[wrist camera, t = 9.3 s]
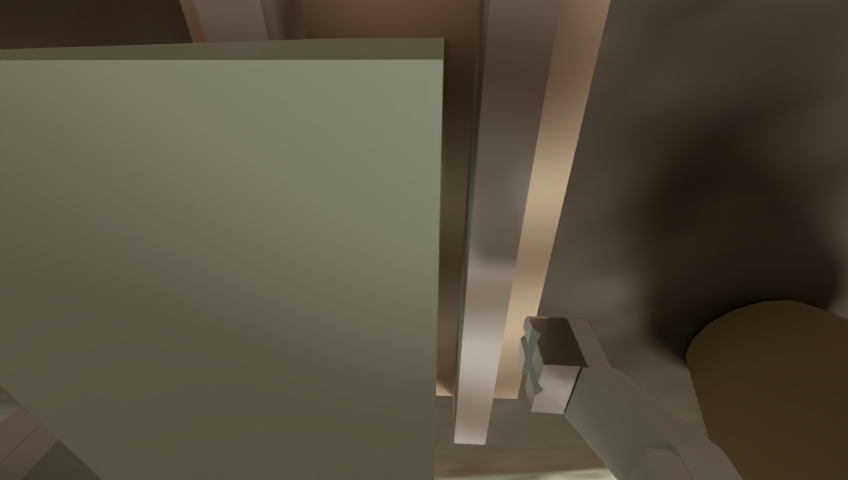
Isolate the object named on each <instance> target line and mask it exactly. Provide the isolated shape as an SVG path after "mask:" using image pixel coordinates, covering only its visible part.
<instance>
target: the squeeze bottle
mask: <svg viewBox="0 0 848 480" xmlns="http://www.w3.org/2000/svg"><path fill="white" fill-rule="evenodd" d="M686 359H687V364H688V368H689V371H690V375H691V378H692V382H693V385H694V389H695V392H696V396H697V399H698V402H699V406H700V409H701V413H702V416H703V420H704V423H705V427H706V430H707V433H708V437H709V440H710V441H711V442H713V443H714V444H715V445H717V446H718V447H719V448H721V449H722V450H723V451H724V452H725V454H726V455H727V457H728V458H729V460H730V461H731V463H732V464H733V466H734V467H735V469H736V470H737V472H738V473H739V475H740V476H741V478H742V479H743V480H848V319H845V318H843V317H840V316H837V315H835V314H832V313H830V312H827V311H824V310H822V309H819V308H816V307H814V306H810V305H807V304H804V303H800V302H797V301H793V300H784V301H763V302H760V303H756V304H753V305H749V306H746V307H742V308H739V309H735V310H733V311H731V312H729V313H727V314H725V315H724V316H722V317H720V318H718V319H716V320H714V321H712V322H711V323H709V324H708V325H707V326H706V327H705V328H704V329H703V330H702V331H700V332H699V333H698V334H697V335H696V336H695V337H694V338H693V339H692V341H691V343H690V346H689V348H688V350H687V353H686Z"/></svg>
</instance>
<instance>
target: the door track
mask: <svg viewBox="0 0 848 480" xmlns="http://www.w3.org/2000/svg"><path fill="white" fill-rule="evenodd" d="M179 1H180V4H181V7H182V10H183V13H184V16H185V20H186V23H187V26H188V29H189V32H190V35H191V39H192V42H193V43H210V42H240V41H270V40H300V39H331V38H444V71H443V113H442V156H441V198H440V241H439V283H438V326H437V368H436V395H442V396H453V417H454V443H464V444H484V445H485V441H486V435H487V430H488V424H489V418H490V412H491V406H492V401H493V398H508V399H517V396H518V392H519V388H520V384H521V379H522V375H523V374H522V372H521V367H520V361H519V345H520V339H521V337H523V336H524V335H525V332H524V328H523V325H524V320H525V318H526V316H536V315H537V311H538V307H539V303H540V298H541V294H542V290H543V286H544V281H545V277H546V273H547V269H548V264H549V260H550V256H551V252H552V247H553V243H554V239H555V235H556V230H557V226H558V222H559V218H560V213H561V209H562V205H563V200H564V196H565V192H566V188H567V183H568V179H569V175H570V171H571V166H572V162H573V158H574V154H575V149H576V145H577V141H578V137H579V132H580V128H581V124H582V120H583V115H584V111H585V107H586V103H587V98H588V94H589V90H590V86H591V81H592V77H593V73H594V68H595V64H596V60H597V56H598V51H599V47H600V43H601V39H602V34H603V30H604V26H605V22H606V17H607V13H608V9H609V5H610V0H179Z"/></svg>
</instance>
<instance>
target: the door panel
mask: <svg viewBox="0 0 848 480" xmlns="http://www.w3.org/2000/svg"><path fill="white" fill-rule="evenodd" d="M443 71H444V38H331V39H300V40H270V41H240V42H210V43H180V44H149V45H119V46H89V47H59V48H29V49H0V385H1V386H2V387H3V388H4V389H5V390H6V391H7V392H9V393H10V394H11V395H12V396H13V397H14V398H15V399H16V400H17V401H18V402H19V403H20V404H21V405H22V406H24V407H25V408H26V409H27V410H28V411H29V412H30V413H31V414H32V415H33V416H34V417H35V418H36V419H37V420H39V421H40V422H41V423H42V424H43V425H44V426H45V427H46V428H47V429H48V430H49V431H50V432H51V433H53V434H54V435H55V436H56V437H57V438H58V439H59V440H60V441H61V442H62V443H63V444H64V445H65V446H66V447H68V448H69V449H70V450H71V451H72V452H73V453H74V454H75V455H76V456H77V457H78V458H79V459H80V460H81V461H83V462H84V463H85V464H86V465H87V466H88V467H89V468H90V469H91V470H92V471H93V472H94V473H95V474H96V475H98V476H99V477H100V478H101V479H102V480H434V452H435V410H436V368H437V326H438V283H439V241H440V198H441V156H442V113H443Z"/></svg>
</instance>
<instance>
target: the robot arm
mask: <svg viewBox="0 0 848 480" xmlns="http://www.w3.org/2000/svg"><path fill="white" fill-rule="evenodd" d="M523 328H524V332H525V335H524V336H523V337H521V339H520V345H519V361H520V367H521V372H522V374H523V375H524V376H525V377H526V378H527V382H526V386H525V389H526V394H527V398H528V402H529V406H530V410H531V411H532V412H545V413H558V414H565V415H564V416H565V417H566V418H567V419H568V421H569V422H570V423H571V424H572V425H573V427H574V428H575V429H576V430H577V431H578V433H579V434H580V435H581V436H582V437H583V439H584V440H585V441H586V442H587V443H588V445H589V446H590V447H591V448H592V449H593V451H594V452H595V453H596V454H597V455H598V457H599V458H600V459H601V460H602V461H603V463H604V464H605V465H606V466H607V467H608V469H609V470H610V471H611V472H612V473H613V475H614V476H615V477H616V478H617V479H618V480H743V479H742V478H741V476H740V475H739V473H738V472H737V470H736V469H735V467H734V466H733V464H732V463H731V461H730V460H729V458H728V457H727V455H726V454H725V452H724V451H723V450H722V449H721V448H719V447H718V446H717V445H715V444H714V443H713V442H711V441H710V440H709V439H708V438H706V437H705V436H704V435H702V434H701V433H700V432H699V431H697V430H696V429H695V428H693V427H692V426H691V425H690V424H688V423H687V422H686V421H684V420H683V419H682V418H681V417H679V416H678V415H677V414H675V413H674V412H673V411H671V410H670V409H669V408H668V407H666V406H665V405H664V404H662V403H661V402H660V401H659V400H657V399H656V398H655V397H653V396H652V395H651V394H650V393H648V392H647V391H646V390H644V389H643V388H642V387H640V386H639V385H638V384H637V383H635V382H634V381H633V380H631V379H630V378H629V377H628V376H626V375H625V374H624V373H622V372H621V371H620V370H619V369H612V368H611V366H610V364H609V362H608V360H607V358H606V356H605V354H604V352H603V351H602V349H601V347H600V345H599V343H598V341H597V339H596V337H595V335H594V333H593V331H592V329H591V327H590V325H589V323H588V321H587V320H586V319H585V318H584V317H564V318H563V317H538V316H526V318H525V320H524V325H523ZM0 480H102V479H101V478H100V477H99V476H98V475H96V474H95V473H94V472H93V471H92V470H91V469H90V468H89V467H88V466H87V465H86V464H85V463H84V462H83V461H81V460H80V459H79V458H78V457H77V456H76V455H75V454H74V453H73V452H72V451H71V450H70V449H69V448H68V447H66V446H65V445H64V444H63V443H62V442H61V441H60V440H59V439H58V438H57V437H56V436H55V435H54V434H53V433H51V432H50V431H49V430H48V429H47V428H46V427H45V426H44V425H43V424H42V423H41V422H40V421H39V420H37V419H36V418H35V417H34V416H33V415H32V414H31V413H30V412H29V411H28V410H27V409H26V408H25V407H22V408H20V409H18V410H16V411H14V412H12V413H11V414H9V415H8V416H7V417H6V418H5V419H4V420H2V421H1V422H0Z"/></svg>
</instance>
